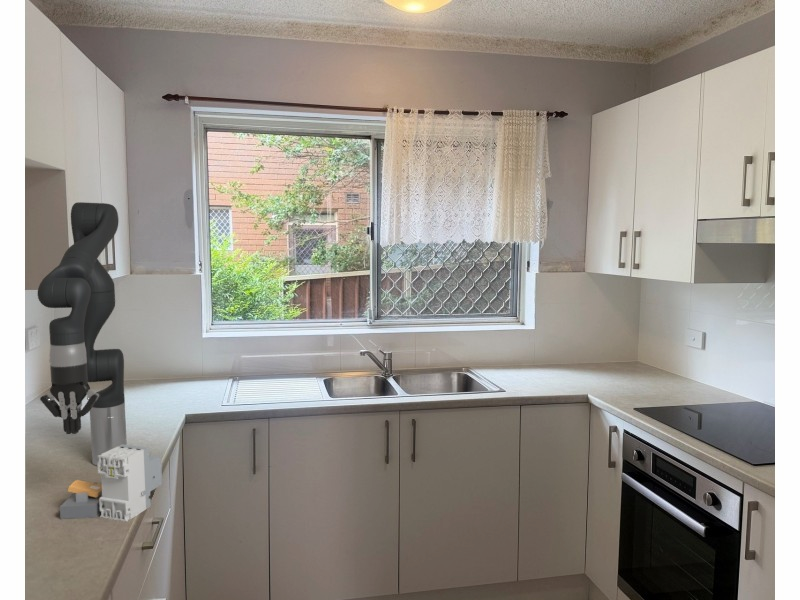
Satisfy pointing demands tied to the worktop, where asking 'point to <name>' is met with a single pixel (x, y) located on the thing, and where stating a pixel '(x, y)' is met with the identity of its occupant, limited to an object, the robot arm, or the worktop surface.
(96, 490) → the block
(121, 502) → the electrical contactor
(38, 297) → the robot arm
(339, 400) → the worktop surface
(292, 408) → the worktop surface
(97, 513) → the switch box
